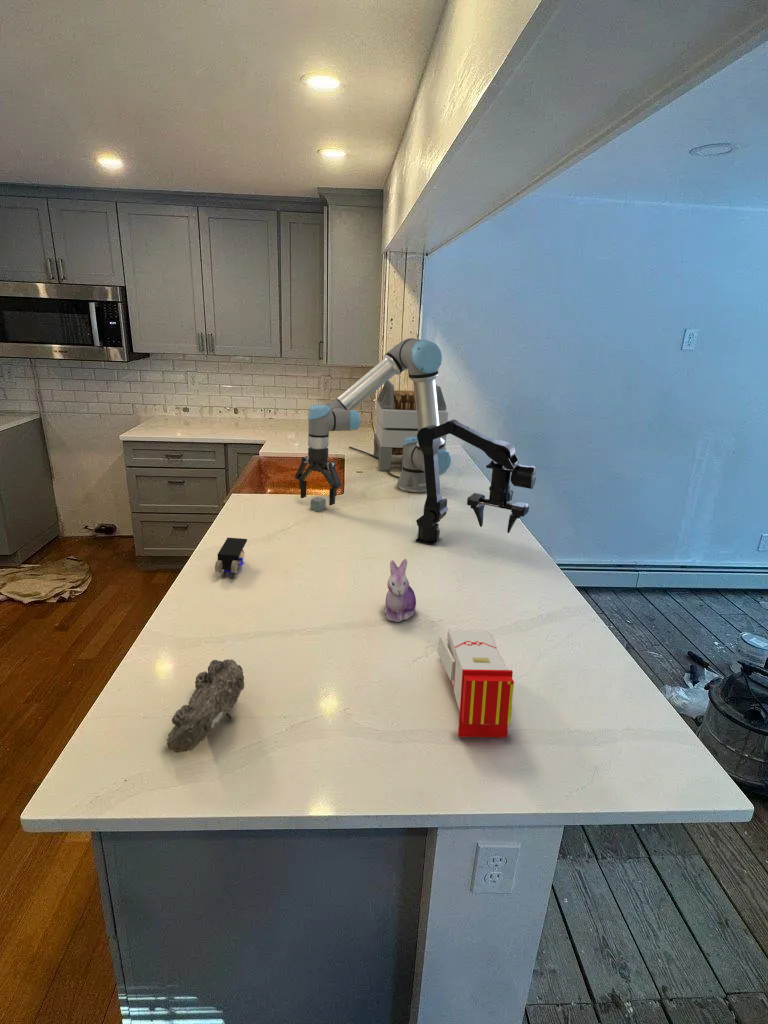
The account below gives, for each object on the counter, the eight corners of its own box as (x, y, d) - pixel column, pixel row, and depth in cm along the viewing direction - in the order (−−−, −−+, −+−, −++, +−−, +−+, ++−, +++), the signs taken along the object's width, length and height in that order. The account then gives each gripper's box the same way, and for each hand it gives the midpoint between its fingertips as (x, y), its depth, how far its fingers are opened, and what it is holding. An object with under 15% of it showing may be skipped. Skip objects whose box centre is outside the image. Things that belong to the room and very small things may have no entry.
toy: (488, 613, 130) (523, 677, 101) (484, 667, 133) (517, 744, 104) (435, 612, 130) (455, 676, 101) (432, 666, 133) (451, 743, 103)
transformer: (372, 454, 306) (375, 377, 292) (432, 454, 310) (437, 379, 296) (379, 471, 275) (382, 386, 261) (445, 472, 278) (452, 388, 265)
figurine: (392, 627, 141) (395, 572, 136) (374, 608, 149) (376, 556, 144) (425, 619, 145) (429, 566, 140) (405, 601, 154) (408, 550, 149)
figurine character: (238, 584, 162) (249, 557, 175) (236, 562, 158) (247, 536, 172) (215, 584, 161) (227, 556, 175) (212, 561, 158) (225, 535, 171)
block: (319, 512, 218) (319, 501, 216) (310, 509, 219) (310, 499, 218) (325, 508, 221) (325, 498, 220) (317, 506, 223) (317, 496, 222)
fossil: (192, 660, 117) (244, 628, 112) (224, 691, 120) (276, 661, 115) (142, 746, 98) (202, 712, 93) (182, 779, 101) (242, 748, 96)
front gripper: (536, 482, 179) (530, 528, 185) (481, 472, 188) (476, 516, 193) (526, 491, 170) (520, 539, 176) (468, 480, 179) (464, 526, 184)
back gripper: (351, 450, 209) (349, 504, 216) (297, 440, 221) (297, 492, 228) (340, 454, 203) (338, 510, 210) (285, 443, 214) (285, 496, 221)
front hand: (494, 529), depth 182 cm, fingers open, 9 cm apart
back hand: (317, 500), depth 219 cm, fingers open, 13 cm apart
